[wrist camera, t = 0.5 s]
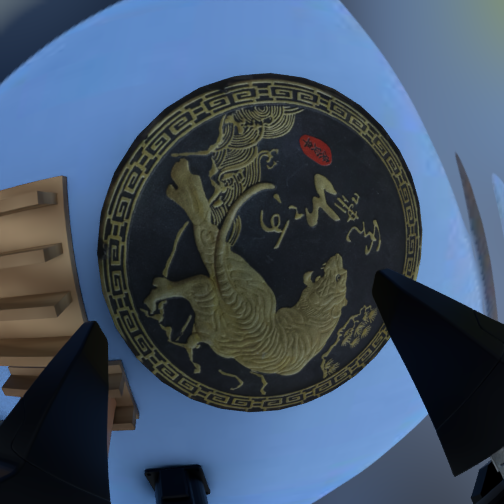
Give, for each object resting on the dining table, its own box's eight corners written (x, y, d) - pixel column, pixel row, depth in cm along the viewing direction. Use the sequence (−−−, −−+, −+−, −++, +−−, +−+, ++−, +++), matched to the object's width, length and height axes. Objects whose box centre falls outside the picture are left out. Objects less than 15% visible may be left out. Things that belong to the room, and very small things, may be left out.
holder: (139, 413, 22) (137, 436, 19) (34, 413, 19) (25, 432, 16) (121, 360, 21) (116, 380, 18) (11, 363, 18) (-3, 380, 15)
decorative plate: (260, 14, 18) (455, 224, 27) (254, 24, 20) (443, 222, 29) (33, 305, 17) (307, 442, 26) (42, 298, 19) (301, 432, 28)
